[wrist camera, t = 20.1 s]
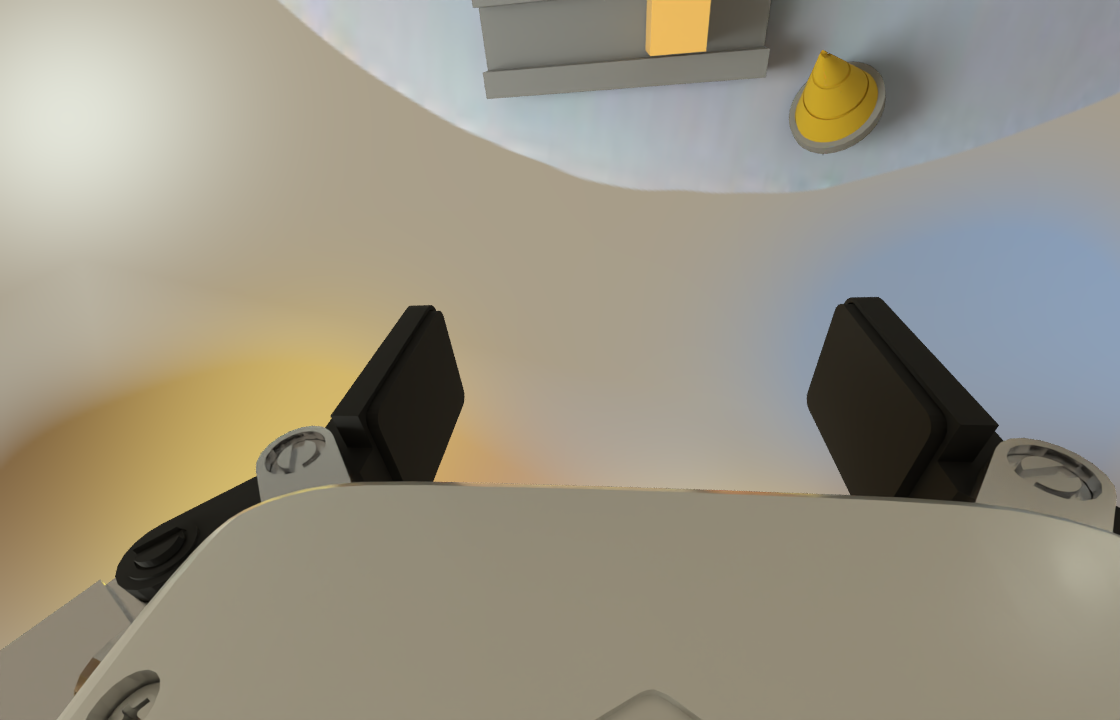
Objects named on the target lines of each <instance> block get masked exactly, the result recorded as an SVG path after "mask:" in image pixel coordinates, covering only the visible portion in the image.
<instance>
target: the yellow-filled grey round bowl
mask: <svg viewBox="0 0 1120 720" xmlns="http://www.w3.org/2000/svg"><path fill="white" fill-rule="evenodd" d="M827 53H828V52H826V51H824V50H822V51H821V53H820V55H819V57H818V59H817V61H816V64H815V66H814V68H813V70H812V73H811V75H810V77H809V79H808V81H807V82H806V83H805V84H804V85H803V86H802V88H801V89H800V90H799V92H798V93H797V95H796V96H795V98H794V100H793V102H792V105H791V108H790V113H789V124H790V128H791V131H792V134H793V136H794V138H795V140H796V141H797V143H798V144H799V145H800V146H802V147H803V148H804V149H806V150H808V151H810V152H814V153H821V154H828V153H835V152H838V151H842V150H845V149H847V148H849V147H851V146H853V145H855V144H856V143H858V142H859V141H861V140H862V139H863V138H865V137H866V136H867V135H868V134H869V133H870V132H871V131H872V129H873V128H874V127H875V126H876V125H877V123H878V121H879V119H880V118H881V116H882V113H883V110H884V107H885V85H884V81H883V79H882V77H881V75H880V74H879V73H878V71H877V70H876V69H874V68H873V67H871V66H870V65H867V64H864V63H860V62H846V61H844V60H842V59H840V58H838V57H836V56H834V55H832V54H830V53H829V54H827Z"/></svg>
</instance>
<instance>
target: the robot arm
mask: <svg viewBox="0 0 1120 720" xmlns="http://www.w3.org/2000/svg"><path fill="white" fill-rule="evenodd" d="M463 404H464V390H463V386H462V382H461V379H460V375H459V371H458V368H457V364H456V360H455V357H454V353H453V349H452V346H451V342H450V339H449V335H448V331H447V327H446V324H445V320H444V316H443V314H442V312H441V311H436V309H435V308H434V307H433V306H432V305H424V306H409V307H408V308H407V309H406V310H405V312H404V313H403V315H402V316H401V318H400V319H399V320H398V322H397V323H396V325H395V326H394V327H393V329H392V331H391V332H390V333H389V335H388V336H387V337H386V339H385V340H384V342H383V343H382V344H381V346H380V347H379V348H378V350H377V351H376V353H375V354H374V355H373V357H372V358H371V360H370V361H369V362H368V364H367V365H366V367H365V368H364V370H363V371H362V372H361V374H360V375H359V377H358V378H357V379H356V381H355V382H354V384H353V385H352V386H351V388H350V389H349V391H348V392H347V393H346V395H345V397H344V398H343V399H342V401H341V402H340V403H339V405H338V406H337V408H336V409H335V410H334V412H333V413H332V414H331V417H332V419H331V420H330V422H329V423H328V425H327V426H326V427H325V428H324V427H320V426H309V427H301V428H298V429H295V430H293V431H290V432H288V433H286V434H284V435H282V436H280V437H279V438H277V439H276V440H275V441H273V442H272V443H271V444H269V445H268V446H267V448H265V450H264V451H263V452H262V453H261V455H260V457H259V458H258V460H257V464H256V473H257V476H256V477H254V478H252V479H250V480H248V481H246V482H244V483H242V484H240V485H238V486H236V487H234V488H232V489H230V490H228V491H226V492H224V493H222V494H220V495H218V496H216V497H214V498H212V499H210V500H208V501H206V502H204V503H202V504H200V505H198V506H197V507H195V508H193V509H191V510H189V511H187V512H185V513H183V514H181V515H179V516H177V517H175V518H173V519H171V520H169V521H167V522H165V523H163V524H161V525H159V526H158V527H156V528H154V529H153V530H151V531H149V532H148V533H147V534H145V535H144V536H143V537H142V538H140V539H139V540H138V541H137V542H136V543H134V545H133V546H132V547H131V548H130V549H129V550H128V551H127V552H126V554H125V555H124V556H123V558H122V560H121V561H120V563H119V565H118V567H117V571H116V575H115V577H116V578H115V579H113V580H112V581H110V582H109V583H108V584H106V583H104V582H103V581H101V580H99V581H98V582H96V583H95V584H93V585H92V586H90V587H89V588H88V589H86V590H85V591H83V592H82V593H81V594H79V595H78V596H76V597H75V598H74V599H72V600H71V601H69V602H68V603H67V604H65V605H64V606H62V607H61V608H59V609H58V610H57V611H55V612H54V613H53V614H51V615H50V616H48V617H47V618H45V619H44V620H43V621H41V622H40V623H39V624H37V625H36V626H34V627H33V628H31V629H30V630H29V631H27V632H26V633H24V634H23V635H21V636H20V637H19V638H17V639H16V640H14V641H13V642H12V643H10V644H9V645H8V646H6V647H5V648H3V649H2V650H0V720H1120V508H1119V507H1117V506H1116V499H1117V495H1116V491H1115V486H1114V485H1113V484H1112V482H1111V481H1110V479H1109V478H1108V477H1107V475H1106V474H1104V473H1103V472H1102V471H1101V470H1100V469H1099V468H1098V467H1096V466H1095V465H1094V464H1093V463H1091V462H1089V461H1088V460H1086V459H1084V458H1083V457H1081V456H1080V455H1078V454H1076V453H1074V452H1072V451H1069V450H1067V449H1065V448H1063V447H1060V446H1057V445H1054V444H1051V443H1048V442H1044V441H1041V440H1034V439H1027V438H1016V439H1015V438H1014V439H1008V440H1006V441H1003V440H1002V439H1001V438H1000V437H999V435H998V434H997V433H996V432H995V430H996V429H997V427H998V426H999V425H998V424H997V423H996V421H994V419H993V418H992V417H991V416H990V415H989V414H988V413H987V412H986V411H985V410H984V409H983V408H982V406H981V405H980V404H979V403H978V402H977V401H976V400H975V399H974V398H973V397H972V396H971V395H970V394H969V392H968V391H967V390H966V389H965V388H964V387H963V386H962V385H961V384H960V383H959V382H958V381H957V380H956V378H955V377H954V376H953V375H952V374H951V373H950V372H949V371H948V370H947V369H946V368H945V367H944V366H943V364H942V363H941V362H940V361H939V360H938V359H937V358H936V357H935V356H934V355H933V354H932V353H931V352H930V350H929V349H927V347H926V346H925V345H924V344H923V343H922V342H921V341H920V340H919V339H918V338H917V337H916V335H915V334H914V333H913V332H912V331H911V330H910V329H909V328H908V327H907V326H906V325H905V324H904V323H903V321H902V320H901V319H900V318H899V317H898V316H897V315H896V314H895V313H894V312H893V311H892V310H891V308H890V307H889V306H888V305H887V304H886V303H885V302H884V301H883V300H882V299H881V298H879V297H857V298H856V297H855V298H849V299H847V300H846V301H845V303H844V304H840V305H838V306H837V307H836V309H835V312H834V315H833V318H832V321H831V324H830V327H829V330H828V333H827V336H826V339H825V342H824V345H823V348H822V351H821V354H820V357H819V360H818V363H817V366H816V369H815V372H814V375H813V378H812V381H811V384H810V387H809V390H808V394H807V405H808V408H809V411H810V413H811V415H812V417H813V419H814V421H815V423H816V425H817V427H818V429H819V431H820V433H821V435H822V437H823V439H824V441H825V443H826V445H827V447H828V449H829V452H830V454H831V456H832V458H833V460H834V462H835V464H836V466H837V468H838V470H839V472H840V474H841V476H842V478H843V480H844V483H845V484H846V486H847V488H848V491H849V493H850V495H833V494H808V493H779V492H755V491H754V492H752V491H728V490H700V489H670V488H639V487H638V488H637V487H609V486H607V487H606V486H577V485H540V484H538V485H537V484H505V483H504V484H503V483H467V482H433V480H434V478H435V475H436V473H437V470H438V467H439V465H440V463H441V460H442V457H443V455H444V453H445V450H446V447H447V445H448V442H449V439H450V437H451V435H452V432H453V429H454V427H455V424H456V422H457V419H458V417H459V414H460V412H461V409H462V406H463Z"/></svg>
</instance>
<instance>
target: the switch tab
mask: <svg viewBox="0 0 1120 720" xmlns="http://www.w3.org/2000/svg"><path fill="white" fill-rule="evenodd" d="M710 5H711V0H647V11H646V45H645V50H646V52H647V53H648V54H649V55H650V56H657V55H669V54H680V53H692V52H704V51H706V47H707V36H708V26H709V15H710Z"/></svg>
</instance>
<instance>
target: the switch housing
mask: <svg viewBox="0 0 1120 720" xmlns="http://www.w3.org/2000/svg"><path fill="white" fill-rule="evenodd" d="M472 5H473V8H479V13H480V20H481V26H482V33H483V40H484V47H485V54H486V60H487V67H488V71H486V72H484V73H483V77H484V83H485V90H486V96H487V99H493V98H505V97H518V96H531V95H544V94H557V93H570V92H583V91H596V90H609V89H622V88H635V87H647V86H660V85H673V84H686V83H699V82H712V81H725V80H738V79H751V78H764V77H766V71H767V65H768V59H769V53H770V48H766V47H764V43H765V37H766V31H767V24H768V18H769V12H770V5H771V0H711V5H710V15H709V26H708V36H707V47H706V51H704V52H692V53H680V54H669V55H657V56H650V55H649V54H648V53H647V52H646V50H645V45H646V11H647V0H472Z"/></svg>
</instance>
